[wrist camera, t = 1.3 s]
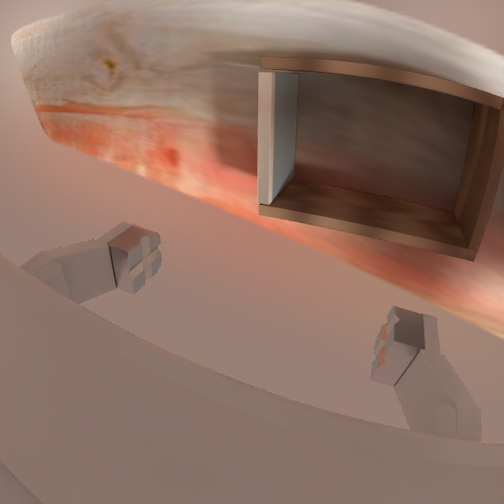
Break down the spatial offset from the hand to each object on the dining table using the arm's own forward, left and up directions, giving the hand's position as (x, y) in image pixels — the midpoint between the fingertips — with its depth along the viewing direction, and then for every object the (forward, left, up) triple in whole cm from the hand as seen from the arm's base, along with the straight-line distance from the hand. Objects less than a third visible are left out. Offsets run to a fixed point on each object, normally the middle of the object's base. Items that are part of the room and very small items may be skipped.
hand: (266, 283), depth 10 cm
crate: (-3, -1, -25) cm, 25 cm away
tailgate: (+7, -1, -25) cm, 26 cm away
